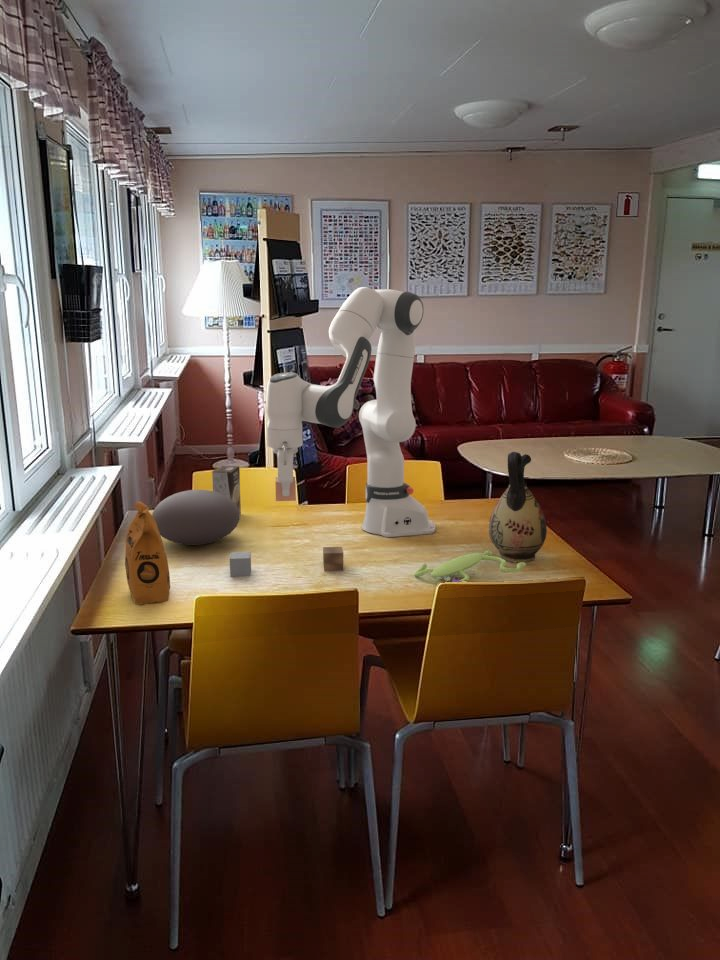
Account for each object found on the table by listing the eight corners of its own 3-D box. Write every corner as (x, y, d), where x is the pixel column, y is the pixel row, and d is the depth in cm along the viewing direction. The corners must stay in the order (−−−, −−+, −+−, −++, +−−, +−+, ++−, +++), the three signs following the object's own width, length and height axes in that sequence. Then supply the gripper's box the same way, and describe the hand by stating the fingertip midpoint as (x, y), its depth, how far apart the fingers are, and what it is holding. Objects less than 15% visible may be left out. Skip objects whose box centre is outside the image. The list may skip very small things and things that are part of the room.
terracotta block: (295, 495, 196) (295, 476, 195) (295, 500, 191) (295, 481, 190) (276, 495, 196) (275, 477, 194) (275, 501, 191) (275, 481, 190)
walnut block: (342, 564, 203) (341, 546, 202) (343, 571, 198) (343, 552, 197) (323, 565, 202) (323, 547, 201) (324, 571, 198) (324, 553, 196)
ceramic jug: (497, 545, 219) (502, 442, 211) (550, 553, 212) (557, 448, 205) (477, 563, 204) (482, 453, 197) (534, 572, 197) (541, 459, 190)
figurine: (532, 583, 191) (534, 562, 190) (442, 599, 181) (442, 577, 180) (493, 560, 207) (494, 541, 206) (407, 574, 197) (408, 554, 196)
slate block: (251, 569, 199) (250, 551, 198) (250, 576, 194) (249, 558, 193) (231, 570, 198) (231, 552, 197) (230, 577, 193) (229, 558, 192)
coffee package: (127, 607, 174) (121, 515, 169) (127, 588, 186) (120, 501, 181) (172, 602, 177) (166, 512, 172) (168, 583, 189) (163, 498, 183)
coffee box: (233, 521, 240) (231, 472, 236) (213, 521, 241) (211, 471, 237) (241, 513, 249) (239, 465, 245) (222, 512, 250) (220, 465, 246)
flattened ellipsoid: (241, 553, 211) (239, 501, 207) (148, 557, 207) (145, 505, 203) (240, 527, 235) (238, 480, 231) (157, 530, 231) (154, 483, 227)
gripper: (298, 446, 180) (299, 502, 183) (296, 431, 200) (297, 482, 203) (271, 447, 179) (272, 503, 183) (272, 431, 199) (274, 482, 203)
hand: (285, 492), depth 193 cm, fingers closed on terracotta block, 5 cm apart
